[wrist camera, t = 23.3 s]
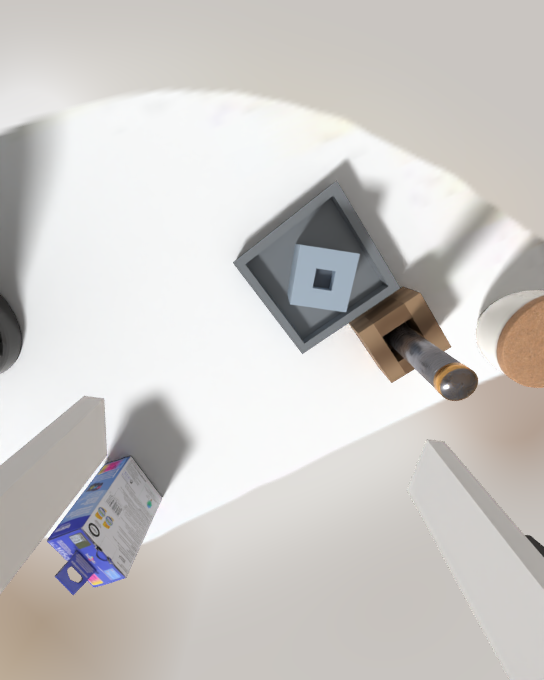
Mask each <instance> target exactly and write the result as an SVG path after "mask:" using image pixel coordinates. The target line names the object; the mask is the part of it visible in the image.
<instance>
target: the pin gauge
mask: <svg viewBox="0 0 544 680" xmlns="http://www.w3.org/2000/svg"><path fill="white" fill-rule="evenodd" d="M383 338H384V339H385V340H386V341H387V342H388V343H389V344H390V345H391V346H392V347H393V348H394V349H395V350H396V351H397V352H398V353H399V354H400V355H401V356H402V357H403V358H404V359H405V360H406V361H408V362H409V363H410V364H411V365H412V366H413V367H414V368H415V369H416V370H417V371H418V372H419V373H420V374H421V375H422V376H423V377H424V378H425V379H426V380H427V381H428V382H429V383H430V384H431V385H432V386H433V387H434V388H435V389H436V390H437V391H438V392H439V393H440V394H441V395H442V396H443V397H444V398H446V399H448V400H452V401H459V400H462V399H465V398H467V397H468V396H470V395H471V394H472V393H473V392H474V391H475V389H476V387H477V385H478V378H477V375H476V373H475V372H474V371H472V370H471V369H469V368H468V367H467V366H465V365H463V364H461V363H460V362H458V361H457V360H455V359H454V358H452V357H451V356H450V355H448V354H447V353H445V352H444V351H442V350H441V349H440V348H438V347H437V346H435V345H434V344H432V343H431V342H429V341H428V340H427V339H425V338H424V337H422V336H421V335H419V334H418V333H417V332H415V331H414V330H412V329H411V328H409V327H408V326H406V325H405V324H404V323H403V324H401V325H400V326H398V327H397V328H395V329H393V330H392V331H390V332H389V333H387V334H386V335H384V336H383Z"/></svg>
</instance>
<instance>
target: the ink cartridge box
mask: <svg viewBox="0 0 544 680" xmlns="http://www.w3.org/2000/svg"><path fill="white" fill-rule="evenodd" d="M161 500H162V497H161V496H160V494H159V493H158V492H157V490H156V489H155V488H154V486H153V485H152V484H151V482H150V481H149V480H148V478H147V477H146V476H145V474H144V473H143V472H142V470H141V469H140V467H139V466H138V465H137V464H136V462H135V461H134V459H133V458H132V457H131V456H129V457H126V458H123V459H120V460H117V461H114V462H111V463H108V464H105V465H104V466H103V467H102V468H101V469H100V471H99V472H98V474H97V475H96V476H95V478H94V479H93V480H92V482H91V483H90V484H89V486H88V487H87V488H86V490H85V491H84V492H83V494H82V495H81V496H80V497H79V499H78V500H77V501H76V503H75V504H74V505H73V507H72V508H71V509H70V511H69V512H68V513H67V515H66V516H65V517H64V519H63V520H62V521H61V523H60V524H59V525H58V527H57V528H56V529H55V531H54V532H53V533H52V534H51V536H50V537H49V538H48V540H47V542H48V543H49V544H50V545H51V546H52V547H53V548H54V549H55V550H57V551H58V552H59V553H60V554H61V555H62V556H63V557H64V558H65V559H66V560H67V561H68V562H67V563H66V564H65V565H64V566H63V567H62V569H61V570H60V571H59V572H58V573H57V574H56V575H55V577H56V578H57V579H58V580H59V581H60V582H61V583H62V584H63V585H64V586H65V587H66V588H67V589H68V590H69V591H70V592H71V594H72V595H74V594H75V593H76V592H77V591H78V590H79V589H80V588H81V587H82V586H83V585H84V584H85V583H86V581H88V582H89V583H90V584H91V585H92V586H93V587H98V586H101V585H105V584H109V583H112V582H115V581H118V580H121V579H124V578H127V575H128V573H129V571H130V568H131V566H132V564H133V562H134V559H135V557H136V555H137V553H138V550H139V548H140V546H141V544H142V542H143V540H144V537H145V535H146V533H147V531H148V528H149V526H150V524H151V522H152V520H153V517H154V515H155V513H156V511H157V509H158V506H159V504H160V502H161ZM71 566H72V567H73V568H74V569H75V570H76V571H77V572H78V573H79V574H80V575H81V577H82V580H81V581H80V582H79V583H77V582H74V581H72V580H70V578H69V576H68V573H67V569H68V568H69V567H71Z"/></svg>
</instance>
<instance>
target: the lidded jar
mask: <svg viewBox="0 0 544 680" xmlns="http://www.w3.org/2000/svg"><path fill="white" fill-rule="evenodd" d="M475 335H476V343H477V346H478V348H479V350H480V352H481V354H482V355H483V357H484V358H485V359H486V360H487V361H488V362H489V363H490V364H491V365H492V366H494V367H495V368H496V369H497V370H499V371H500V372H502V373H504V374H505V375H507V376H508V377H509V378H510V379H512V380H514V381H515V382H517V383H519V384H521V385H524V386H528V387H534V388H535V387H536V388H537V387H538V388H542V387H544V290H528V291H521V292H517V293H513V294H509V295H507V296H505V297H503V298H501V299H499V300H497V301H496V302H494V303H493V304H492V305H490V306H489V307H488V308H487V309H486V310H485V311H484V312H483V313H482V315H481V316H480V318H479V320H478V323H477V327H476V334H475Z"/></svg>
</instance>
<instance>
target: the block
mask: <svg viewBox="0 0 544 680" xmlns="http://www.w3.org/2000/svg"><path fill="white" fill-rule="evenodd" d="M359 256H360V254H358V253H351V252H345V251H338V250H332V249H326V248H319V247H313V246H306V245H300V244H295V250H294V256H293V262H292V268H291V274H290V280H289V286H288V293H287V295H288V299H289V302H290V304H291V305H298V306H305V307H312V308H319V309H326V310H333V311H340V312H346V311H347V307H348V303H349V298H350V294H351V290H352V286H353V281H354V277H355V273H356V269H357V264H358V260H359Z"/></svg>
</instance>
